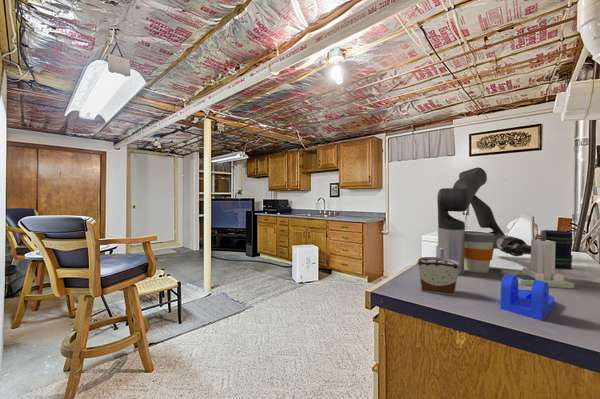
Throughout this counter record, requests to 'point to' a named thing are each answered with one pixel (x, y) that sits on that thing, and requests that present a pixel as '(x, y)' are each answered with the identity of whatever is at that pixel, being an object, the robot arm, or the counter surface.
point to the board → (538, 278)
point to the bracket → (526, 298)
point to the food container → (438, 274)
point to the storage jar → (561, 247)
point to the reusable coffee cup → (478, 251)
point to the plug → (543, 256)
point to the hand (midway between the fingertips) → (535, 253)
